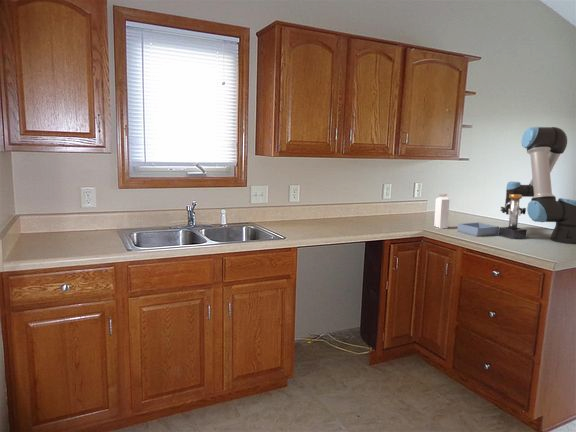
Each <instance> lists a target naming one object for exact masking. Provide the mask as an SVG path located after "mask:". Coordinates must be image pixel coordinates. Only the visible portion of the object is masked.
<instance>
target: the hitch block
mask: <svg viewBox="0 0 576 432" xmlns="http://www.w3.org/2000/svg"><path fill="white" fill-rule="evenodd" d="M498 227H499V234H498V237H501V238H502V237H503V238H506V239H511V240H517V239H519V240H520V239H527V232H528V229H527V228H521V227H517V230H512V229H508V228H509V226H502V227H500V226H498Z"/></svg>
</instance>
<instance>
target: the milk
mask: <svg viewBox="0 0 576 432" xmlns="http://www.w3.org/2000/svg"><path fill="white" fill-rule="evenodd" d="M434 206H435V207H434V221H433V223H434V225H433V227H434V226H436V227H439V228H449V227H448V226H449V213H450V198H449V197H448V195H447V193H439V194H438V197H436V198H435V205H434Z"/></svg>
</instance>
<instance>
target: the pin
mask: <svg viewBox="0 0 576 432" xmlns="http://www.w3.org/2000/svg"><path fill="white" fill-rule="evenodd" d="M509 198H511V204H510V210H511V212H510V215H509V219H508V227H509V228H508V229H512V230H517V228H518V223H519V222H518V221H519V215H518V212H519V207H520V200H521V199H522V198H523V197H522V195H521V194H509Z"/></svg>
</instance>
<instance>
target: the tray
mask: <svg viewBox="0 0 576 432" xmlns="http://www.w3.org/2000/svg"><path fill="white" fill-rule="evenodd" d="M499 227H500V226H498V225H493V224H487V223H484V222H483V223H482V222H465V223H457V233H460V232H461V233H462V234H465V235H469V236H473V237H479V238H480V237H490V236H499Z"/></svg>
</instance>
